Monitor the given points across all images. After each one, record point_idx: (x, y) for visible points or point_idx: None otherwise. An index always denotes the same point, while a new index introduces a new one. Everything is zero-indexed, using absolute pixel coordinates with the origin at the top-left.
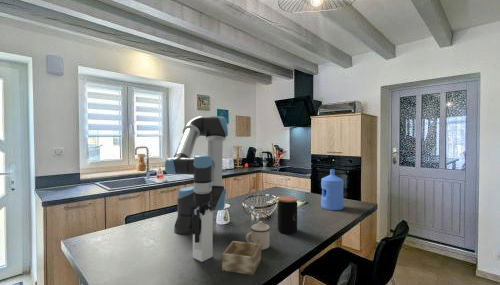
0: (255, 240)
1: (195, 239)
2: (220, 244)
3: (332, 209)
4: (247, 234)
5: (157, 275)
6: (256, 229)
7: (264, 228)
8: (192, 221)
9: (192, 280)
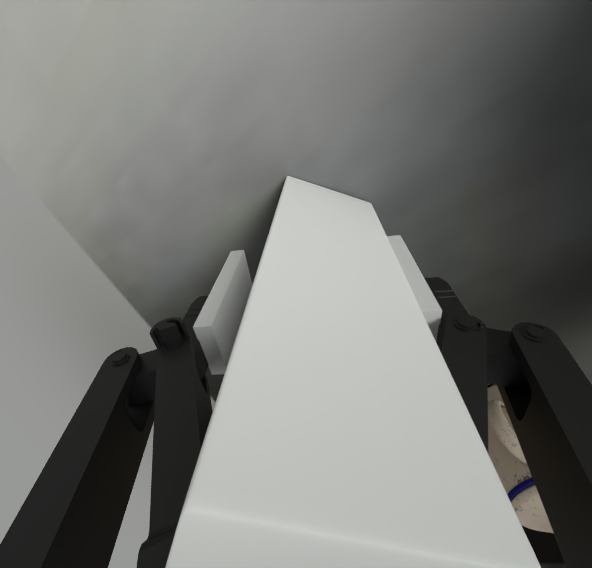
0: (489, 437)
1: (188, 317)
2: (521, 239)
3: None
4: (507, 442)
5: (13, 105)
6: (521, 504)
7: (533, 526)
8: (27, 497)
9: (121, 293)
